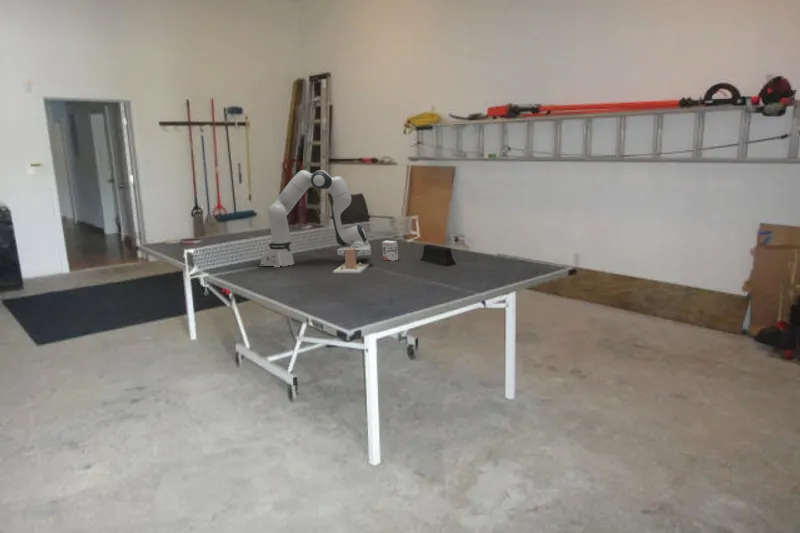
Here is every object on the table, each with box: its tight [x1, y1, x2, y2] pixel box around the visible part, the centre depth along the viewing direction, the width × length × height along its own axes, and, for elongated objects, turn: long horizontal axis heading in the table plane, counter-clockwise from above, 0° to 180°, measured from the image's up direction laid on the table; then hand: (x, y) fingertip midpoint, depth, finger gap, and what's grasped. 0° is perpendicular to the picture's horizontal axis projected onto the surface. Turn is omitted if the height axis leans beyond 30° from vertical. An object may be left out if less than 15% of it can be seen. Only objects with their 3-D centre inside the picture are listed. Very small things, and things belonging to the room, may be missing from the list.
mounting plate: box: [332, 262, 370, 274], centre depth 334 cm, size 16×20×3 cm
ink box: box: [381, 240, 399, 262], centre depth 355 cm, size 9×5×12 cm, turn 62°
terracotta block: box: [344, 248, 357, 269], centre depth 333 cm, size 5×5×11 cm
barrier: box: [420, 244, 456, 267], centre depth 343 cm, size 24×9×10 cm, turn 38°
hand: (350, 254), depth 333 cm, fingers open, 8 cm apart
